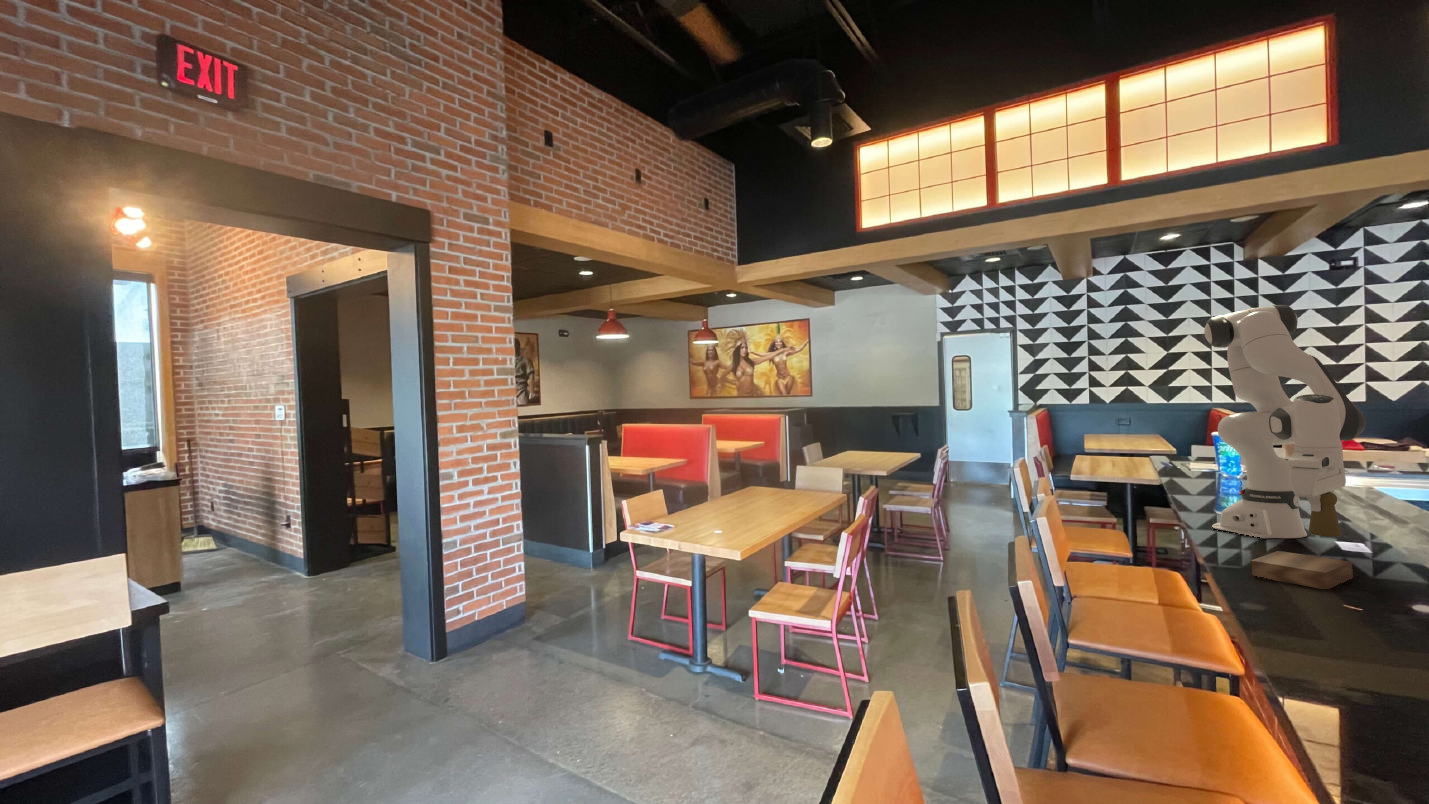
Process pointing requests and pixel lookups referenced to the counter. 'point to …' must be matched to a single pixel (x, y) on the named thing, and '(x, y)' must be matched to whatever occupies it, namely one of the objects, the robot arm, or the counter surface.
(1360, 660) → the counter surface
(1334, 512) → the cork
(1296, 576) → the walnut riser block
